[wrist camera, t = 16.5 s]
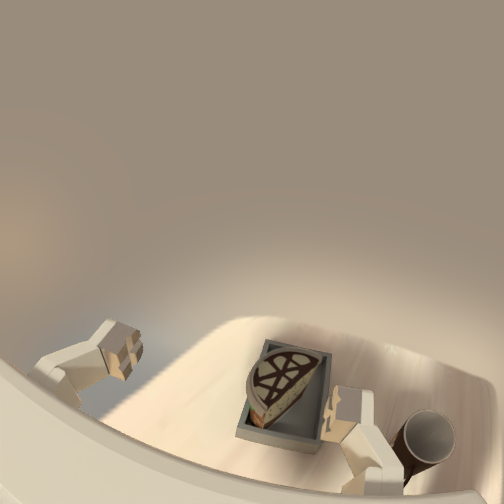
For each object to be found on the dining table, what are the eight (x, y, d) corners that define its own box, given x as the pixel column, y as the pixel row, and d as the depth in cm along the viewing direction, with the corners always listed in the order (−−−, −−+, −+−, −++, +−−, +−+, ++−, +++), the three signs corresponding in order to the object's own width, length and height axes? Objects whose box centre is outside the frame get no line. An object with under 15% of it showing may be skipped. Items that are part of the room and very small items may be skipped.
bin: (326, 366, 51) (331, 354, 49) (314, 454, 36) (321, 445, 34) (262, 352, 52) (265, 339, 51) (235, 436, 38) (236, 427, 36)
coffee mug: (399, 432, 38) (430, 399, 33) (427, 467, 32) (465, 439, 27) (345, 467, 34) (374, 440, 29) (375, 508, 27) (413, 489, 22)
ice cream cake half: (278, 371, 48) (290, 330, 42) (307, 393, 44) (324, 354, 39) (222, 414, 40) (226, 377, 34) (253, 441, 36) (264, 409, 31)
